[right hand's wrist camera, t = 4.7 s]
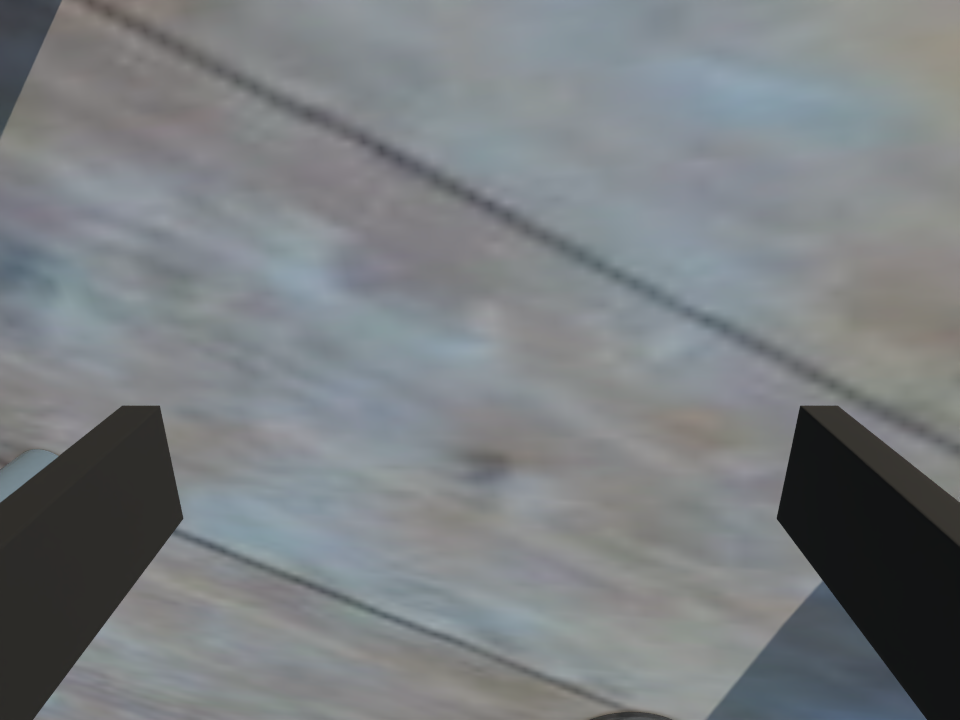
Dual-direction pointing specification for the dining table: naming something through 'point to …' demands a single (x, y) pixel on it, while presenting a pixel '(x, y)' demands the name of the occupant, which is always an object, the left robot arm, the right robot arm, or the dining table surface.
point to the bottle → (23, 470)
